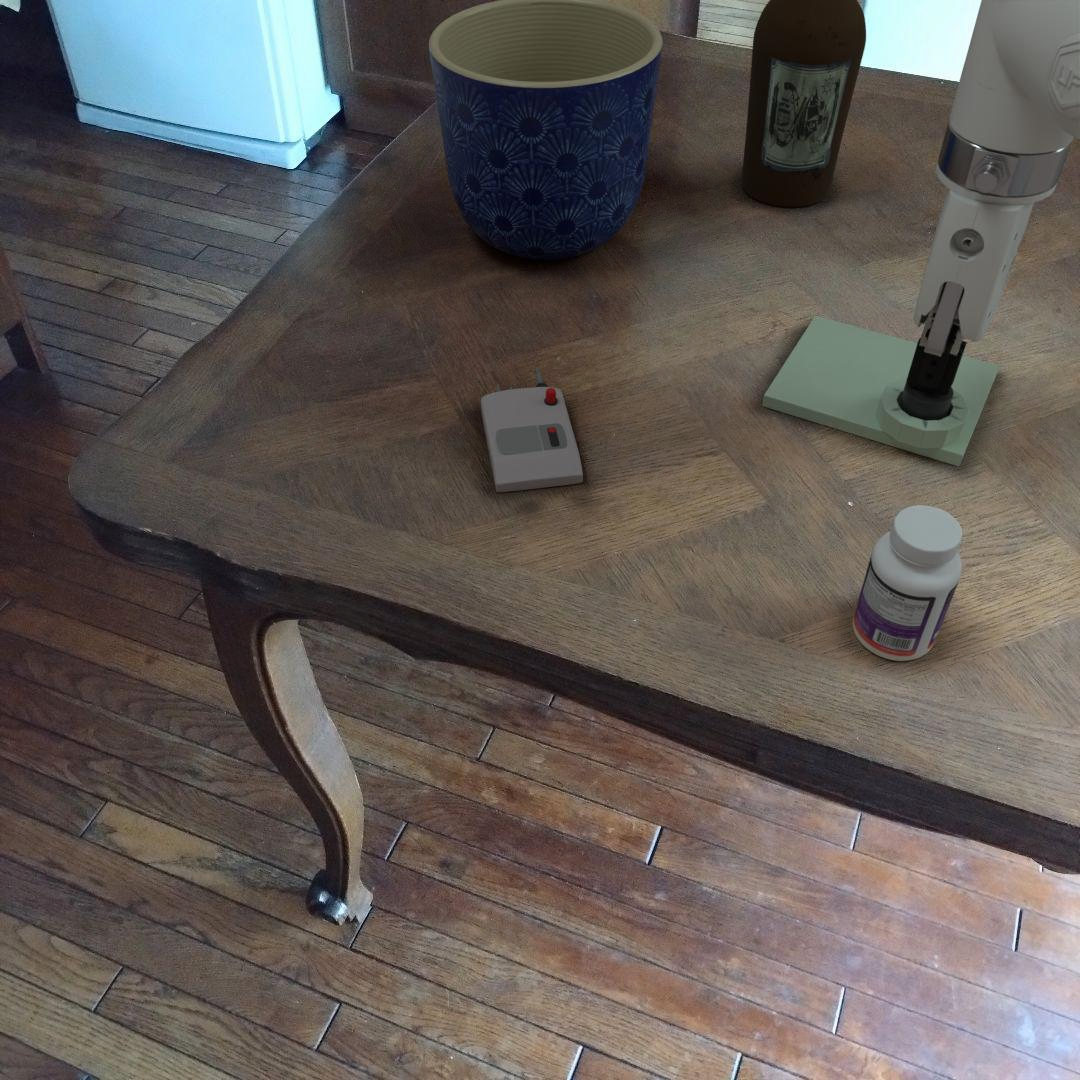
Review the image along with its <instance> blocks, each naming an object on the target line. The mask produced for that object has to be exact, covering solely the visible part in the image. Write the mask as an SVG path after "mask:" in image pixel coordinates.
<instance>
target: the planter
mask: <svg viewBox="0 0 1080 1080" xmlns="http://www.w3.org/2000/svg"><path fill="white" fill-rule="evenodd" d="M663 45H664V41H663V36H662V33H661V31H660V30H659V28H658V27H657V26H656V25H655V24H654V22H652V21H651V20H650V19H649V18H647V17H646V16H645V15H642V14H640V13H639V12H637V11H635V10H632V9H630V8H628V7H625V6H622V5H619V4H615V3H612V2H607V1H602V0H495V1H489V2H485V3H482V4H477V5H475V6H472V7H469V8H466V9H464V10H461V11H459V12H457V13H455V14H453V15H450V16H449V17H448V18H446V19H445V20H444V21H442V22H441V23H439V25H437V26H436V27H435V29H434V30H433V31H432V33H431V35H430V37H429V41H428V50H429V57H430V64H431V71H432V77H433V84H434V91H435V98H436V104H437V110H438V111H437V112H438V117H439V124H440V131H441V136H442V137H441V138H442V143H443V152H444V158H445V164H446V171H447V176H448V181H449V184H450V188H451V193H452V195H453V198H454V201H455V203H456V206H457V207H458V210H459V212H460V214H461V216H462V218H463V220H464V221H465V223H466V224H467V225H468V226H469V228H470V229H471V230H472V231H473V232H474V233H475V234H476V235H477V236H478V237H479V238H480V239H481V240H483V241H484V242H485V243H487V244H488V245H489V246H491V247H493V248H494V249H496V250H498V251H501V252H503V253H506V254H508V255H512V256H514V257H517V258H522V259H527V260H536V261H556V260H564V259H571V258H574V257H578V256H581V255H584V254H587V253H589V252H592V251H594V250H596V249H598V248H601V247H602V246H603V245H605V244H606V243H607V242H609V241H610V240H611V239H612V238H614V237H615V236H616V235H617V234H618V233H619V232H620V231H621V230H622V229H623V227H624V226H625V225H626V224H627V223H628V221H629V219H630V218H631V216H632V214H633V212H634V210H635V208H636V207H637V204H638V201H639V198H640V195H641V192H642V189H643V185H644V182H645V177H646V176H645V175H646V170H647V164H648V163H647V162H648V155H649V149H650V142H651V135H652V134H651V133H652V127H653V119H654V111H655V105H656V98H657V90H658V82H659V74H660V69H661V68H660V67H661V62H662V60H661V59H662V52H663Z"/></svg>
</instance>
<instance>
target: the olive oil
mask: <svg viewBox="0 0 1080 1080" xmlns="http://www.w3.org/2000/svg"><path fill="white" fill-rule="evenodd" d="M862 8H863V7H862V6H861V4H860V3H859V0H768V2H767V3H766V4H765V6H764V7H763V9H762V11H761V13H760V15H759V17H758V20H757V22H756V25H755V29H754V32H753V39H752V50H751V64H750V65H751V66H750V76H749V77H750V78H749V93H748V104H747V116H746V129H745V139H744V140H745V141H744V148H743V149H744V150H743V157H742V159H743V160H742V169H741V179H740V183H741V187H742V190H743V191H744V192H745V194H746V195H748V196H749V197H750V198H751V199H754V200H756V201H758V202H759V203H763V204H766V205H770V206H773V207H774V206H775V207H781V208H802V207H808V206H811V205H815V204H817V203H820V202H821V201H823V200H824V199H825V198H826V197H828V195H829V193H830V192H831V188H832V185H833V180H834V174H835V172H836V167H837V166H836V165H837V162H838V159H839V158H838V157H839V153H840V148H841V145H842V140H843V135H844V131H845V127H846V125H847V119H848V116H849V111H850V109H851V103H852V99H853V96H854V93H855V88H856V84H857V80H858V77H859V73H860V69H861V66H862V65H861V64H862V60H863V57H864V53H865V49H866V44H867V24H866V17H865V13H864V11H863V9H862Z"/></svg>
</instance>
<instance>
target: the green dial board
mask: <svg viewBox="0 0 1080 1080" xmlns="http://www.w3.org/2000/svg"><path fill="white" fill-rule="evenodd" d="M917 343H918V342H915V341H910V340H907V339H904V338H900V337H896V336H893V335H888V334H885V333H881V332H878V331H874V330H870V329H867V328H863V327H860V326H856V325H852V324H848V323H845V322H841V321H838V320H834V319H830V318H826V317H822V316H819V315H814V317H813V318H812V320H811V322H810V323H809V324H808V326H807V327H806V329H805V330H804V332H803V333H802V335H801V336H800V338H799V340H798V342H797V343H796V345H795V346H794V348H793V349H792V351H791V353H790V354H789V355H788V357H787V358H786V360H785V362H784V363H783V365H782V367H781V368H780V370H779V371H778V372H777V374H776V376H775V377H774V379H773V381H772V382H771V383H770V385H769V386H768V388H767V390H766V391H765V393H764V395H763V399H762V404H761V406H762V407H764V408H767V409H771V410H774V411H777V412H780V413H783V414H787V415H789V416H793V417H796V418H799V419H803V420H806V421H810V422H813V423H815V424H818V425H819V424H820V425H822V426H825V427H828V428H832V429H835V430H837V431H842V432H845V433H848V434H851V435H854V436H858V437H861V438H864V439H868V440H871V441H874V442H877V443H881V444H883V445H887V446H891V447H894V448H896V449H900V450H903V451H907V452H910V453H913V454H917V455H919V456H923V457H926V458H929V459H933V460H935V461H939V462H941V463H946V464H949V465H952V466H955V467H960V466H961V464H962V461H963V458H964V457H965V454H966V451H967V449H968V447H969V444H970V442H971V439H972V436H973V434H974V431H975V429H976V427H977V423H978V422H979V420H980V417H981V415H982V411H983V409H984V407H985V405H986V402H987V399H988V397H989V395H990V392H991V391H992V387H993V385H994V382H995V380H996V377H997V374H998V372H999V369H1000V365H999V364H995V363H992V362H988V361H985V360H981V359H977V358H974V357H970V356H966V355H964V354H963V355H962V358H961V361H960V364H959V367H958V370H957V373H956V376H955V379H954V382H953V384H952V386H951V387H952V389H953V393H954V394H953V398H952V401H951V404H950V407H949V410H948V413H947V415H946V416H945V417H944V418H942V419H940V420H928V421H925V420H922V419H918V418H915V417H911V416H909V415H908V414H907V413H905V412H904V411H903V410H902V409H901V406H900V401H901V398H902V394H903V391H904V387H905V384H906V381H907V377H908V374H909V370H910V367H911V363H912V360H913V357H914V353H915V350H916V347H917Z"/></svg>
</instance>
